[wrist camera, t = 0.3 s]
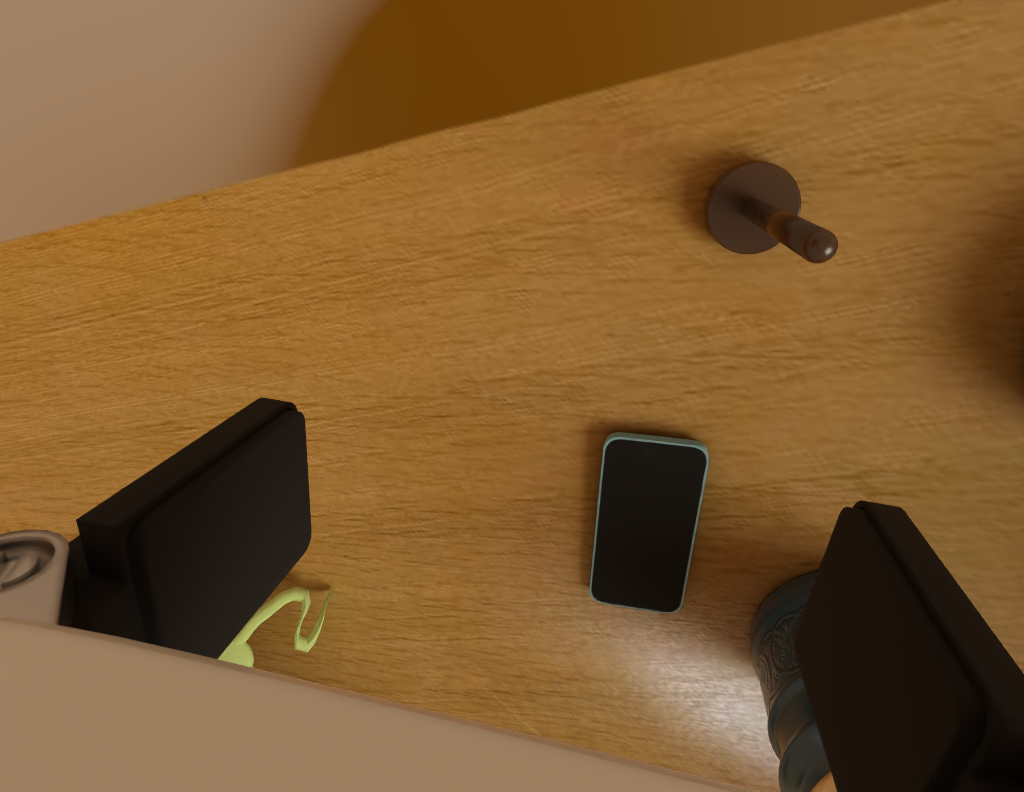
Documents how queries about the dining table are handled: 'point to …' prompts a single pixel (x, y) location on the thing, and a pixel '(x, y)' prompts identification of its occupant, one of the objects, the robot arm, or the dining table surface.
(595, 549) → the smartphone
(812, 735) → the canister
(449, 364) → the dining table surface
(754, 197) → the disc-topped wooden rod
